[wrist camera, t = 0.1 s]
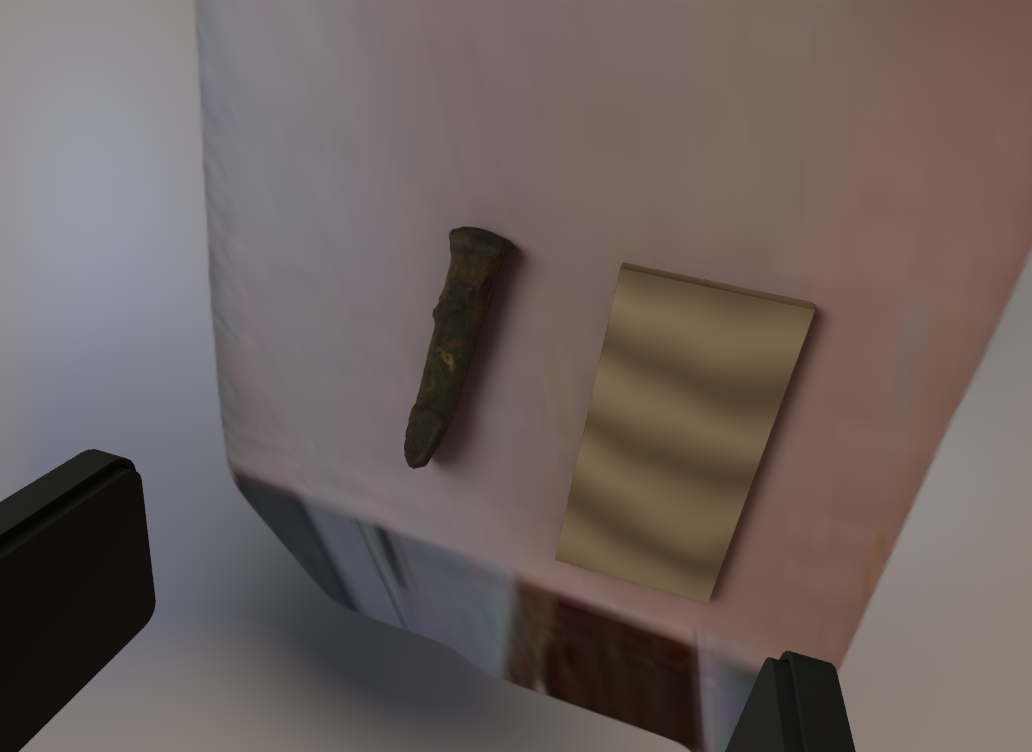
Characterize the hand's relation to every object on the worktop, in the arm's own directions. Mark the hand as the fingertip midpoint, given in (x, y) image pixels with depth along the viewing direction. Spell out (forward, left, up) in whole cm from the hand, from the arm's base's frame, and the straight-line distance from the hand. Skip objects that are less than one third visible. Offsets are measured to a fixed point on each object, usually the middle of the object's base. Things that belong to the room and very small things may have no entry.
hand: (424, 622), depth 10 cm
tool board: (+16, +6, -37) cm, 40 cm away
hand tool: (+13, -10, -37) cm, 41 cm away
